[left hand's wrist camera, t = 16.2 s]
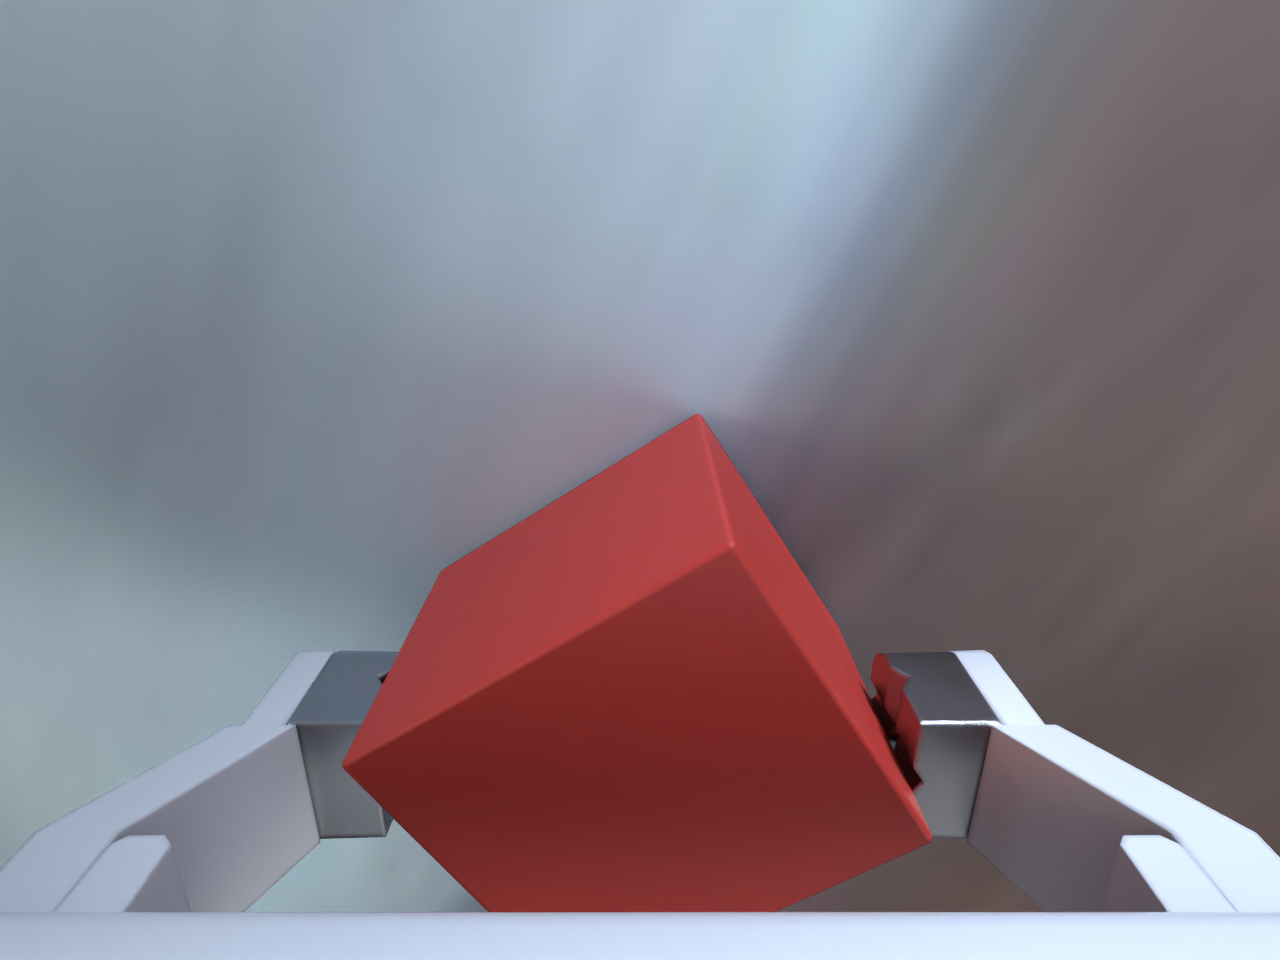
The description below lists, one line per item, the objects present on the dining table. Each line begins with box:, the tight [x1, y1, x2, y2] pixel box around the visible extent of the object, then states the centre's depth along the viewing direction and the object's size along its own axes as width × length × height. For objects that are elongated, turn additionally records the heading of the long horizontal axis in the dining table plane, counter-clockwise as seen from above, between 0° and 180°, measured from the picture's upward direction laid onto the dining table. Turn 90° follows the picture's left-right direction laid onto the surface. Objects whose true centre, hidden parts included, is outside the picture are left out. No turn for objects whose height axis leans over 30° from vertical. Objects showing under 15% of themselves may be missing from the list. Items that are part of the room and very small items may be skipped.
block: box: [342, 414, 932, 912], centre depth 10 cm, size 5×4×4 cm
